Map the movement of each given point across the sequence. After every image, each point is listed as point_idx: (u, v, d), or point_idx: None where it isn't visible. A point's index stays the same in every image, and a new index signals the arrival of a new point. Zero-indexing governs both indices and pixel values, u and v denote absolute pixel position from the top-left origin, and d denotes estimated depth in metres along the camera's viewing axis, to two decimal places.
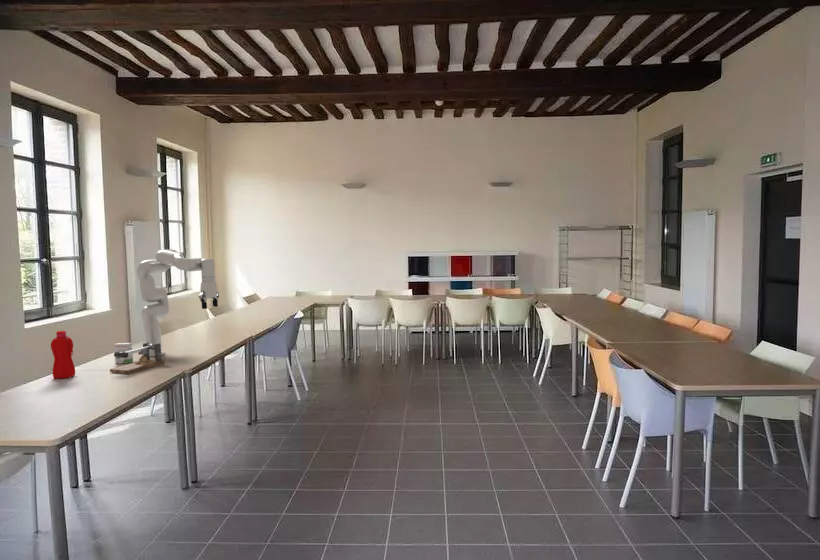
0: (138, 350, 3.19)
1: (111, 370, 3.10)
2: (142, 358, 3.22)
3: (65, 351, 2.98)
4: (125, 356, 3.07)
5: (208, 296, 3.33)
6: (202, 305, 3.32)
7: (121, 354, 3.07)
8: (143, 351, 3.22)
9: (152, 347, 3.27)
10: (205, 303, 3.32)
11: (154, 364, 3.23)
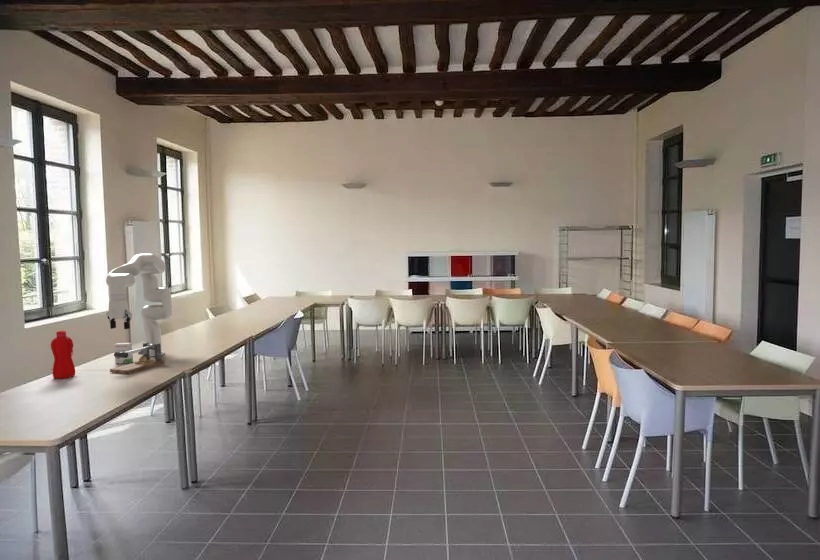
0: (138, 350, 3.19)
1: (111, 370, 3.10)
2: (142, 358, 3.22)
3: (65, 351, 2.98)
4: (125, 356, 3.07)
5: None
6: (127, 325, 3.05)
7: (121, 354, 3.07)
8: (143, 351, 3.22)
9: (152, 347, 3.27)
10: (128, 322, 3.07)
11: (154, 364, 3.23)
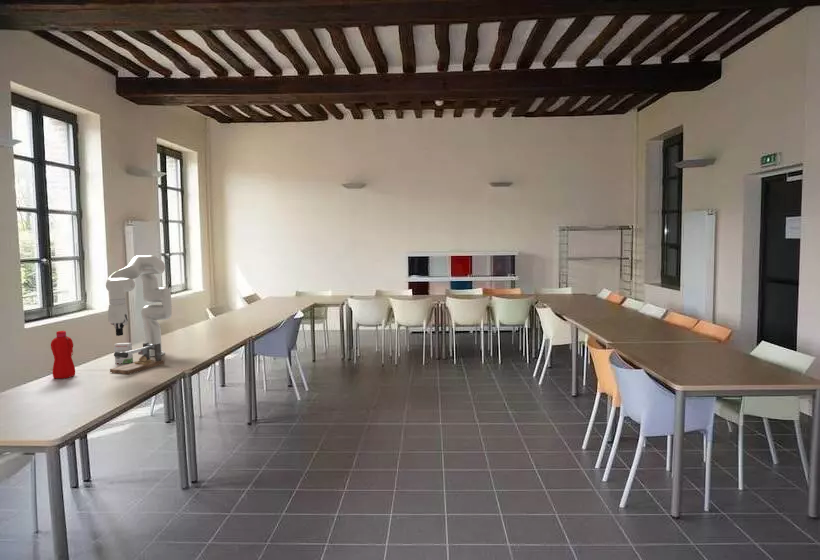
0: (138, 350, 3.19)
1: (111, 370, 3.10)
2: (142, 358, 3.22)
3: (65, 351, 2.98)
4: (125, 356, 3.07)
5: None
6: (120, 331, 3.06)
7: (121, 354, 3.07)
8: (143, 351, 3.22)
9: (152, 347, 3.27)
10: None
11: (154, 364, 3.23)
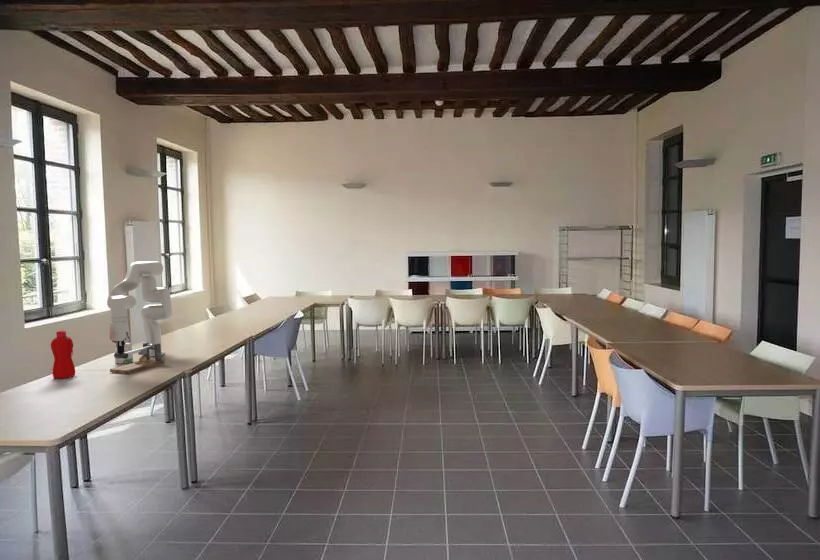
0: (138, 350, 3.19)
1: (111, 370, 3.10)
2: (142, 358, 3.22)
3: (65, 351, 2.98)
4: (125, 357, 3.07)
5: None
6: (122, 349, 3.07)
7: (121, 355, 3.07)
8: (143, 351, 3.22)
9: (152, 347, 3.27)
10: (123, 346, 3.09)
11: (154, 364, 3.23)
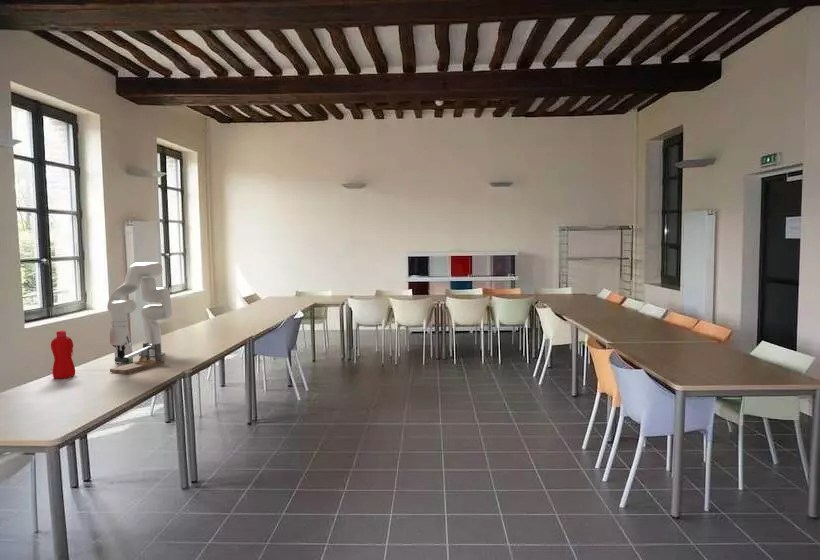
0: (138, 352, 3.19)
1: (111, 370, 3.10)
2: (142, 358, 3.22)
3: (65, 351, 2.98)
4: (126, 361, 3.08)
5: None
6: (122, 353, 3.08)
7: (122, 359, 3.07)
8: (143, 353, 3.22)
9: (152, 347, 3.27)
10: (123, 351, 3.09)
11: (154, 364, 3.23)
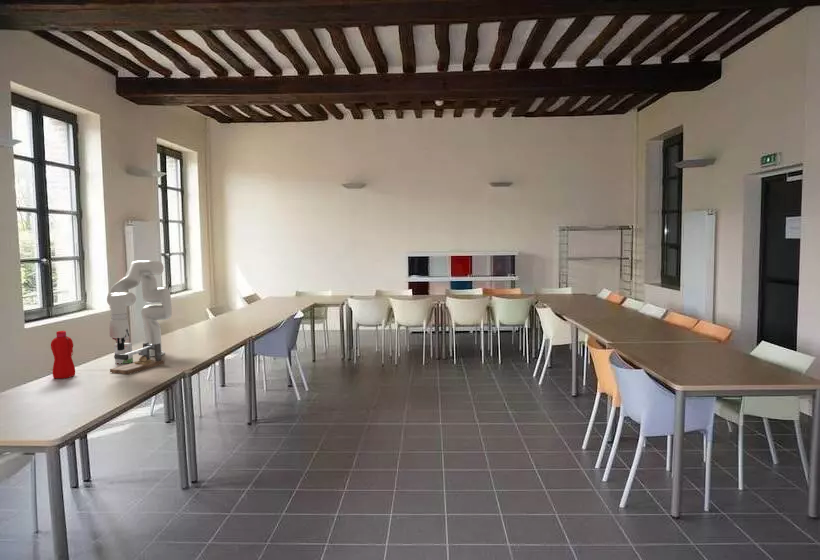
0: (138, 351, 3.19)
1: (111, 370, 3.10)
2: (142, 358, 3.22)
3: (65, 351, 2.98)
4: (125, 358, 3.07)
5: None
6: (122, 346, 3.08)
7: (121, 356, 3.07)
8: (143, 352, 3.22)
9: (152, 347, 3.27)
10: (123, 343, 3.09)
11: (154, 364, 3.23)
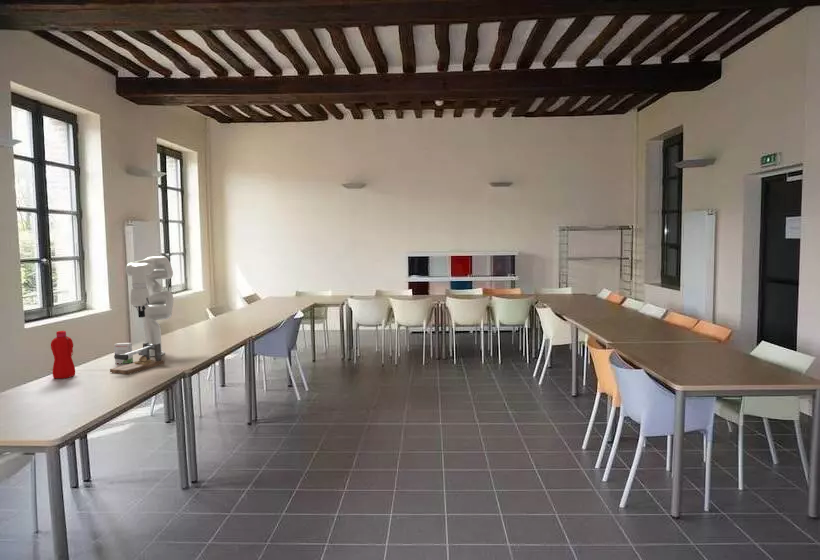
0: (138, 351, 3.19)
1: (111, 370, 3.10)
2: (142, 358, 3.22)
3: (65, 351, 2.98)
4: (125, 358, 3.07)
5: None
6: (142, 313, 3.28)
7: (121, 356, 3.07)
8: (143, 352, 3.22)
9: (152, 347, 3.27)
10: (144, 311, 3.29)
11: (154, 364, 3.23)
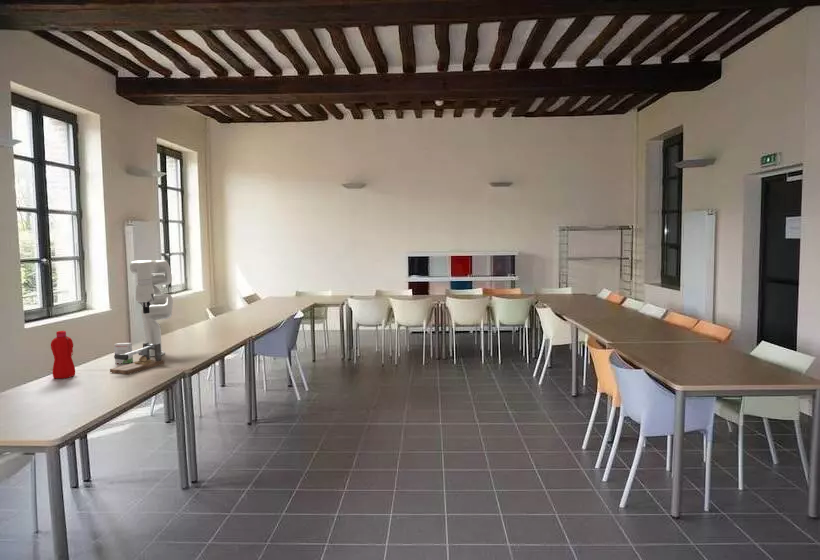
0: (138, 351, 3.19)
1: (111, 370, 3.10)
2: (142, 358, 3.22)
3: (65, 351, 2.98)
4: (125, 358, 3.07)
5: None
6: (147, 309, 3.33)
7: (121, 356, 3.07)
8: (143, 352, 3.22)
9: (152, 347, 3.27)
10: (148, 307, 3.34)
11: (154, 364, 3.23)
